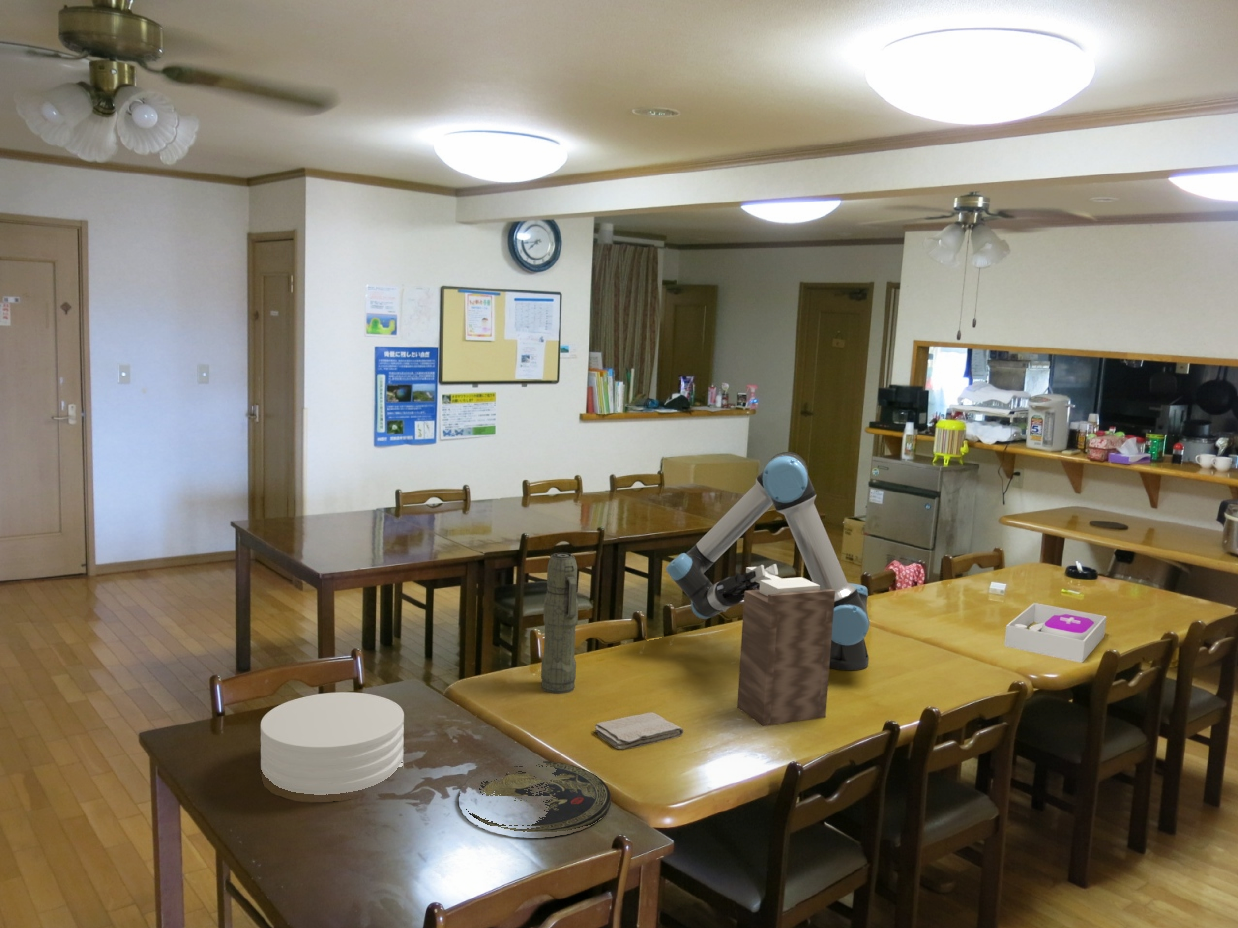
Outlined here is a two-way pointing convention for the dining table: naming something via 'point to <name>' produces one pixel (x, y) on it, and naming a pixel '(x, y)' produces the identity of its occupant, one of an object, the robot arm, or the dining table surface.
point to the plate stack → (332, 742)
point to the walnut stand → (785, 655)
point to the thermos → (560, 625)
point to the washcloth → (637, 730)
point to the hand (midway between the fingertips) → (769, 569)
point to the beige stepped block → (783, 584)
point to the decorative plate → (557, 797)
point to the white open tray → (1056, 632)
